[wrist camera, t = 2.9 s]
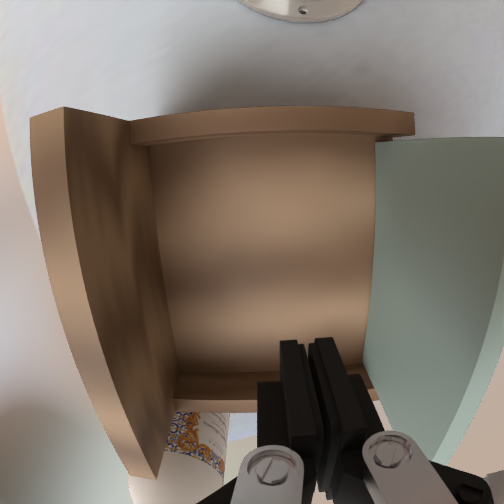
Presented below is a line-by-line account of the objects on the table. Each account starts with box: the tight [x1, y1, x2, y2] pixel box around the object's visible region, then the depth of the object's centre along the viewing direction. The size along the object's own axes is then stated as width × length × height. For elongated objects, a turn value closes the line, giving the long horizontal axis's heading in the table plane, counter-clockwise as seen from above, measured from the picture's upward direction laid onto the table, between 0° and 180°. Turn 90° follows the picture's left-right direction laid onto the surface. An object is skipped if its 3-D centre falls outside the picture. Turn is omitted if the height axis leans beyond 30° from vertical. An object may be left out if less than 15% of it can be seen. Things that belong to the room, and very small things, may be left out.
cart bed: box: [30, 106, 415, 480], centre depth 18 cm, size 18×16×15 cm
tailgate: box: [362, 137, 504, 466], centre depth 13 cm, size 15×2×11 cm, turn 3°
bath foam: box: [128, 411, 230, 504], centre depth 20 cm, size 7×7×20 cm
